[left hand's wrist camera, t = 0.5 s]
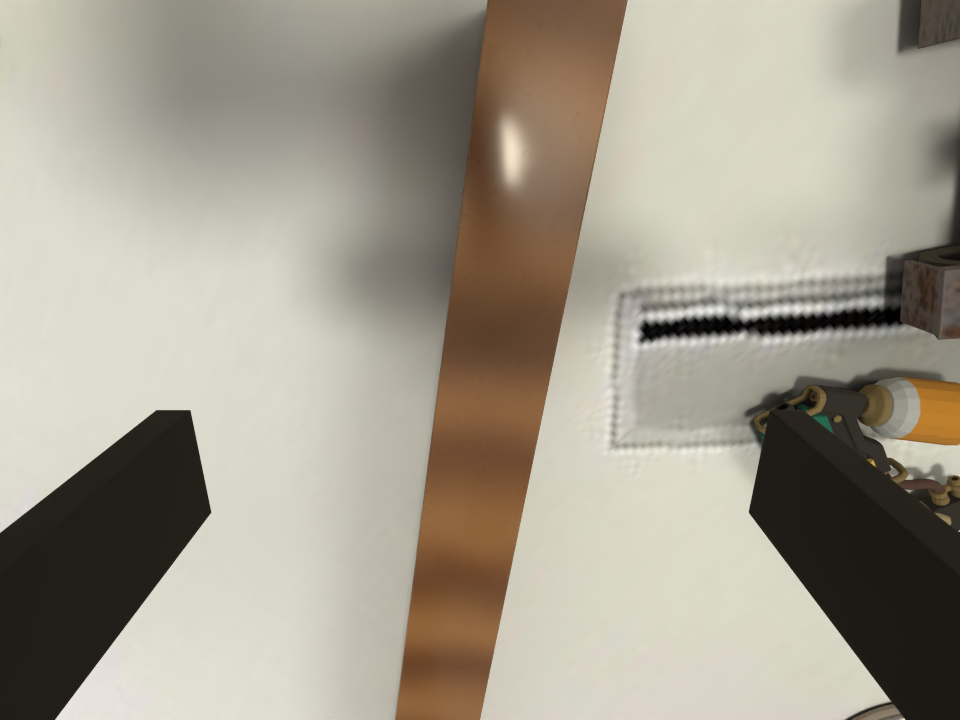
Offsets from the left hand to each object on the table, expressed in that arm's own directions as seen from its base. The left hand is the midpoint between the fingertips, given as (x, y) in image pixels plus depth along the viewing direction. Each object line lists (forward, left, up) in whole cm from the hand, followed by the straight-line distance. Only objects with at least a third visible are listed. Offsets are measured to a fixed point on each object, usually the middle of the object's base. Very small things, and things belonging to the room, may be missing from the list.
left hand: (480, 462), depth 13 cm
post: (+18, -2, -24) cm, 30 cm away
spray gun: (+17, +27, -24) cm, 40 cm away
